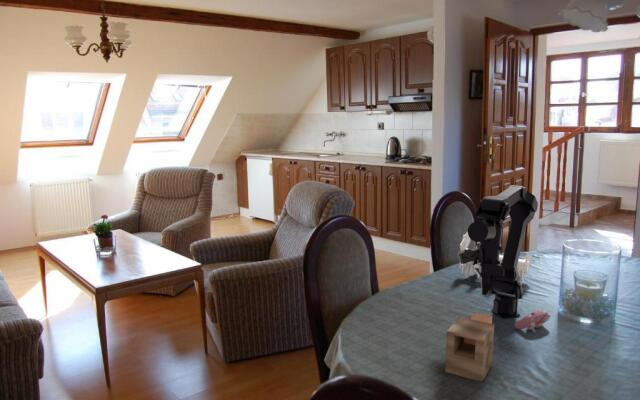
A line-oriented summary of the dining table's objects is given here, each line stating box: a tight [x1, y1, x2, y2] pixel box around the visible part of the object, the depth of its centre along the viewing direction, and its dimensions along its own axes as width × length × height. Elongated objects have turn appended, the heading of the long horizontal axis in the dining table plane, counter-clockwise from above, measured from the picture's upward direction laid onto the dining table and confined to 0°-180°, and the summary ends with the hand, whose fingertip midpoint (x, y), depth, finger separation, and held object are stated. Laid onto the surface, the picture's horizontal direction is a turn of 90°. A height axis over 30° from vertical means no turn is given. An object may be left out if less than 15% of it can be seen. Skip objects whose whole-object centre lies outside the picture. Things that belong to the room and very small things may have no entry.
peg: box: [464, 311, 493, 345], centre depth 130 cm, size 10×4×4 cm, turn 147°
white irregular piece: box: [459, 231, 533, 283], centre depth 188 cm, size 18×18×25 cm
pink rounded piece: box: [514, 309, 551, 331], centre depth 147 cm, size 10×5×7 cm, turn 118°
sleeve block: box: [444, 316, 495, 383], centre depth 125 cm, size 10×9×11 cm
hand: (483, 294), depth 142 cm, fingers closed
